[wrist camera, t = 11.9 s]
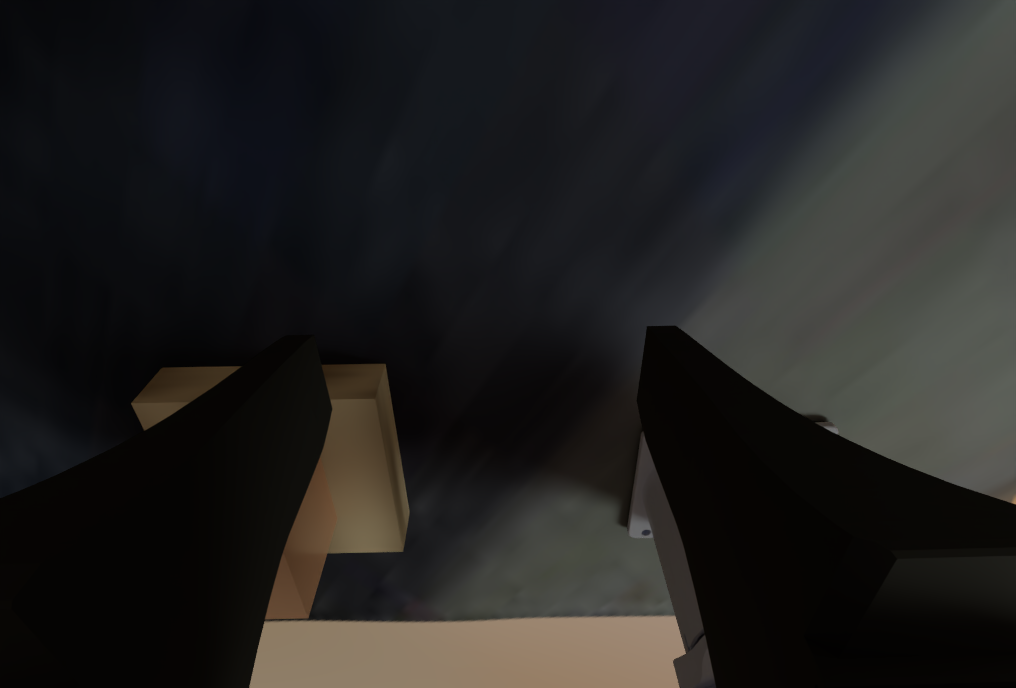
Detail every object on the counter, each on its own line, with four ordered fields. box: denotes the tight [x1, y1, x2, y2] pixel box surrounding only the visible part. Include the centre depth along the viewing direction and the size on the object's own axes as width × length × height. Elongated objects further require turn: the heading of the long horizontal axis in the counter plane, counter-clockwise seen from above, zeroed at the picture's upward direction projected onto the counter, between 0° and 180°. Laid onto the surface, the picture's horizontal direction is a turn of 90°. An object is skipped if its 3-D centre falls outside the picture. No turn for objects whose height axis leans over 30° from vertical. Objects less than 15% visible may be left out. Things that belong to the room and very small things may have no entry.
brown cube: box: [265, 457, 337, 619], centre depth 23 cm, size 5×5×5 cm
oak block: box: [131, 364, 410, 553], centre depth 27 cm, size 10×10×3 cm
